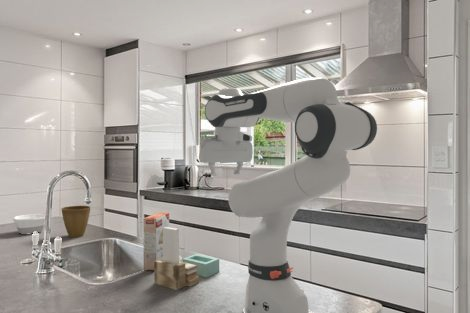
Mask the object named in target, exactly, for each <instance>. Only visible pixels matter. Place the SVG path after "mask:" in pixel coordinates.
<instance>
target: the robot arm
mask: <svg viewBox="0 0 470 313" xmlns="http://www.w3.org/2000/svg"><path fill="white" fill-rule="evenodd" d="M204 115H205V118H206V120H207V122H208V123H209V124H210V125H211V126H212V127H214V135H213V134H212V135H209V134H207V135H204V136H202V137H201V138H200V147H199V154H198V160H199V162H201V163H203V164H204V163H205V164H207V165H208V168H209V169H210V175H211V176H212V177H214V176H217V175H218V170H216V169H215V166H216V163H236V168H234V169H233V174H234V175H237V176H238V175H240V173H241V170H242V167H243V166H244V163H246V162H248V163H249V162H251V161H252V160H253V154H254V153H253V151H254V150H253V148H254V147H253V143H251V142H252V141H253V136H252V135H250V134H248V133H246V132H244V131H241V128H251V127H252V128H253V127H254V126H256V125H257V123H258V122H259V120H260V119H266V120H271V121H276V122H283V123H284V122H285V123H294V132H295V136H296V139H297V142H298V144H299V146H300V148H301V151H302V152H303V153H304V154H305V156H303V157H300V158H299V159H297V160H295V161H293V162H291V163H289V164H287V165H286V166H283V167H281V168H279V169H276V170H272V171H270V172H266V173H264V174H261V175H258V176H256V177H253V178H251V179H247V180H245V181H241V182H239V183H235V184H234V185H232V186H231V188H230V190H229V193H228V205H229V207H230V210H231V211H232V213H233V214H234V215H235V216H237V217H239V218H240V217H241V218H246V219H248V218H249V219H250V218H251V219H255V218H261V221H260V222H259V223H258V225H257V226H256V228H254V229H253V230H252V232H251V233H250V235H249V260H248V264H247V267H248V268H247V269H248V274H249V276H248V277H249V278H248V281H247V284H246V290H245V298H244V299H245V301H244V307H243V309H242V311H241V313H315V312H314V311H312V309H310V308H309V300H308V297H307V295H306V293H305V291H304V289H303V288H301V286H299V285H298V283H297V282H296V281H295V279H294V278H293V277H292V272H293V269H294V267H290V265H289V262H288V260H287V252H288V251H287V249H288V248H287V247H288V246H287V245H288V244H287V243H288V234H289V229H290V226H291V223H292V221H293V219H294V216H295V214H296V213H297V211H299V209H300V208H301V207H302V206H303V204H305V203H307V202H309V201H312V200H315V199H317V198H320V197H322V196H324V195H326V194H328V193H329V194H330V193H331V192H333V191H334V190H335V189H338V188H339V187H340V186H342V185H343V184H344V183H346V181H347V180H348V179H349V177H350V174H351V165H350V162H349V160H348V158H347V153H348V151H357V150H361V149H364V148H365V147H367V146H369V145H370V144H371V143H373V141H375V138H376V135H377V133H378V132H377V131H378V125H377V120H376V119H375V117H374V116H373V115H372V114H371V112H369V111H368V110H366V109H364V108H362V107H360V106H357V105H356V104H353V103H352V102H350V101H347V102H345V103H342V102H341V101H340V100H339V98H338V92H337V89H336V87H335V85H334V83H333V82H331V81H330V80H329V79H326V78H323V77H309V78H302V79H297V80H293V81H290V82H286V83H283V84H282V83H281V84H280V85H276V86H273V87H270V88H266V89H263V90H259V91H256V92H251V93H245V94H243V93H242V90H240V89H239V88H236V87H226V88H225V87H224V88H221V89H220V90H219V91H218V94H215V95H213V96H211V98H209V99H208V100H207V102H206V104H205V107H204Z"/></svg>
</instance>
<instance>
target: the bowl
mask: <svg viewBox="0 0 470 313" xmlns="http://www.w3.org/2000/svg"><path fill="white" fill-rule="evenodd" d="M45 214H46V213H30V214H20V215H16V216H14V217H13V220H12V221H13V222H14V224H15V227H16V229H17V231H18V234H19V233H21V234H27V233H33V232H34V231H37V232H42V231H44V230H45V227H44V224H45ZM45 225H46V224H45ZM42 233H43V232H42ZM21 234H20V235H21Z"/></svg>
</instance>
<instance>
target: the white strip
mask: <svg viewBox="0 0 470 313" xmlns="http://www.w3.org/2000/svg"><path fill="white" fill-rule="evenodd" d="M179 232H180V229H179V228H176V227H170V226H169V227H164V228H163V262H167V263H171V264H175V265H177V264H179V261H180V233H179Z"/></svg>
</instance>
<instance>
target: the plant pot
mask: <svg viewBox="0 0 470 313" xmlns="http://www.w3.org/2000/svg"><path fill="white" fill-rule="evenodd" d="M61 214H62V215H61V216H62V221H63V224H64V226H65V230H66V233H67V236H68V237H69V238H81V237H83V236H84V235H85V233H86V232H85V231H86V229H87V227H88V222H89V218H90V214H91V206H90V205H71V206H70V205H69V206H64V207H61Z"/></svg>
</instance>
